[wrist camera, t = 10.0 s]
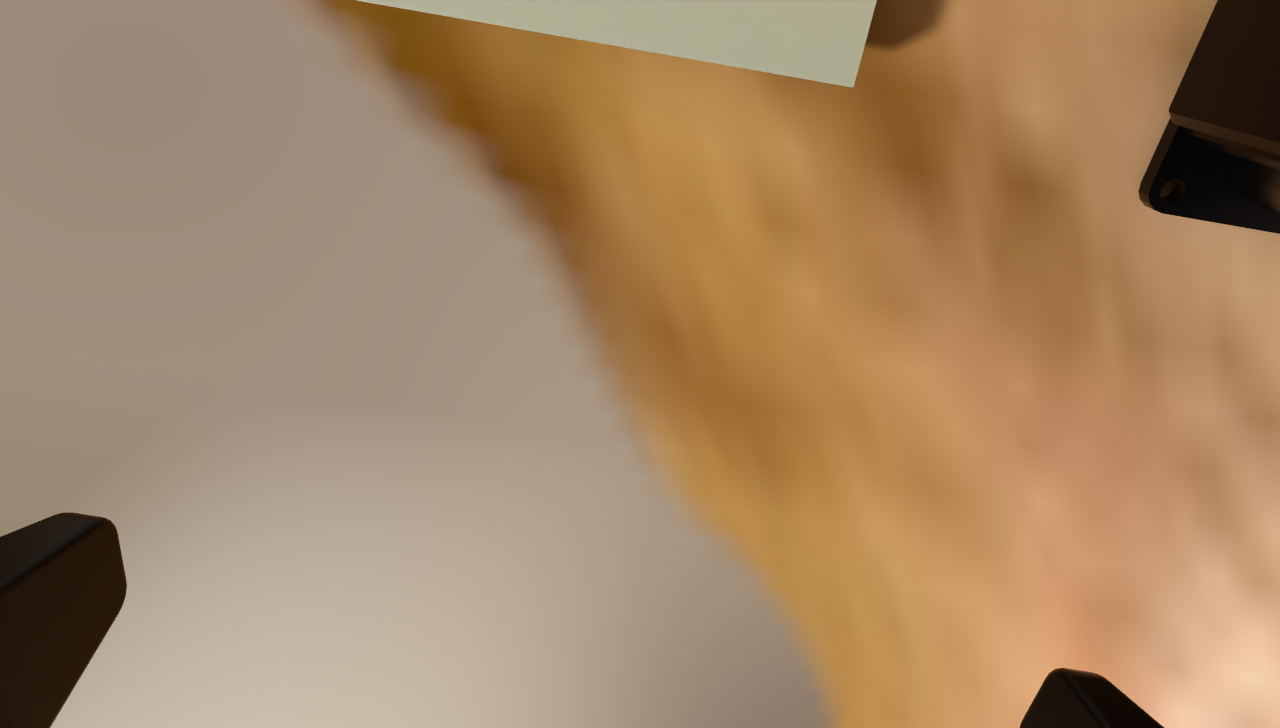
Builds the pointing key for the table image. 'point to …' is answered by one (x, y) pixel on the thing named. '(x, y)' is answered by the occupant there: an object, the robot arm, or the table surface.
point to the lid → (694, 29)
